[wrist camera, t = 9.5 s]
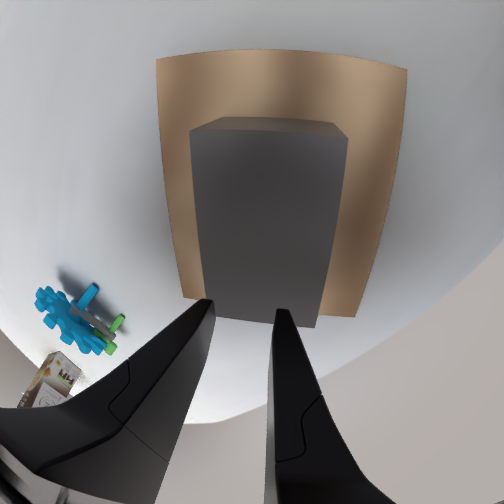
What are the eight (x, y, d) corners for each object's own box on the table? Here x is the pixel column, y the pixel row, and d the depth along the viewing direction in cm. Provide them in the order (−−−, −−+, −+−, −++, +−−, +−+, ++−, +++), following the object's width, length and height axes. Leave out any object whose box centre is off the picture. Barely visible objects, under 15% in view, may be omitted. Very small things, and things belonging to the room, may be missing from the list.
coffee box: (59, 349, 40) (21, 412, 27) (82, 370, 43) (49, 432, 30) (48, 353, 44) (16, 407, 31) (68, 372, 47) (39, 425, 33)
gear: (41, 285, 26) (21, 315, 17) (67, 248, 27) (52, 267, 19) (106, 337, 31) (111, 379, 23) (131, 304, 32) (143, 339, 24)
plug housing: (333, 122, 13) (348, 138, 9) (314, 272, 19) (314, 328, 14) (223, 116, 14) (188, 130, 10) (228, 263, 19) (208, 315, 15)
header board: (401, 70, 11) (425, 67, 8) (353, 308, 21) (357, 341, 18) (163, 60, 13) (133, 57, 10) (187, 289, 23) (173, 319, 20)
